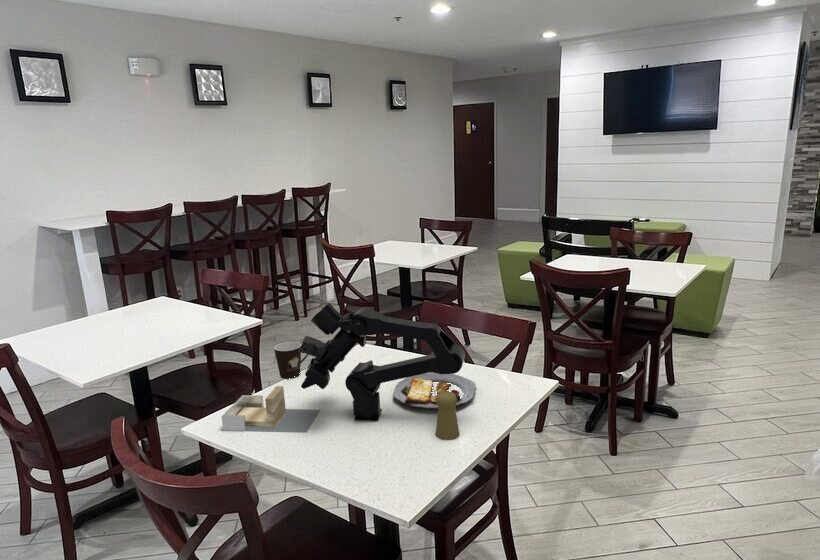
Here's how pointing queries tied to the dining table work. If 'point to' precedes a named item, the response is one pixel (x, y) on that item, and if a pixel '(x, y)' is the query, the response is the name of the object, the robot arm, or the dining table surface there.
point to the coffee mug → (289, 359)
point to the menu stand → (267, 410)
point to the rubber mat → (291, 422)
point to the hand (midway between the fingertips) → (302, 387)
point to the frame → (232, 418)
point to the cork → (446, 416)
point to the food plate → (420, 388)
